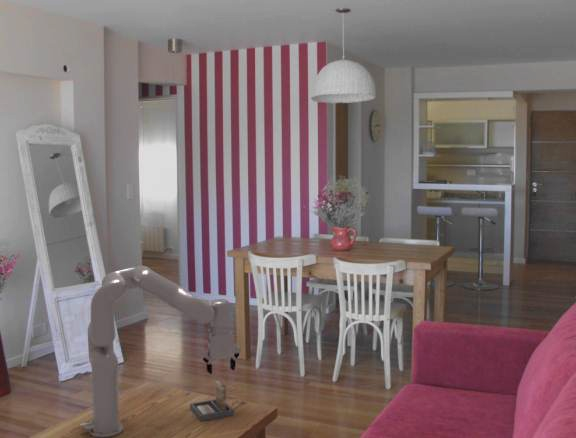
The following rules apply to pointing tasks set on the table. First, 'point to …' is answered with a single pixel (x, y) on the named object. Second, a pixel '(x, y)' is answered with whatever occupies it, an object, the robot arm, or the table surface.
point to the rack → (210, 416)
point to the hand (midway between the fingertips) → (221, 371)
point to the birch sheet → (221, 395)
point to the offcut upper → (205, 409)
